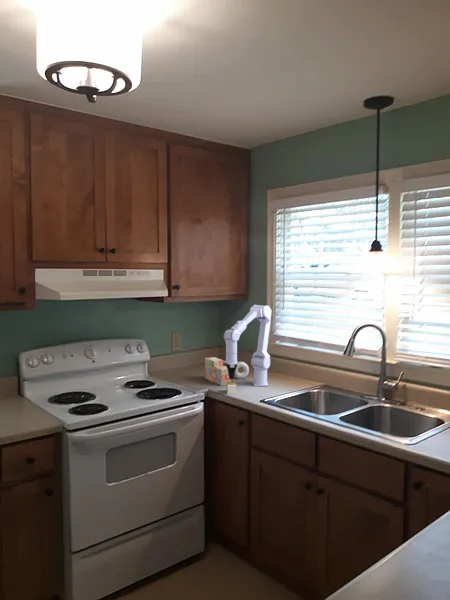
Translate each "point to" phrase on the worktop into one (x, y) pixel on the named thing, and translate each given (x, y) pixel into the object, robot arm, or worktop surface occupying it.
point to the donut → (245, 370)
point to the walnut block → (231, 388)
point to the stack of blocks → (216, 371)
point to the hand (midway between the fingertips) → (231, 378)
